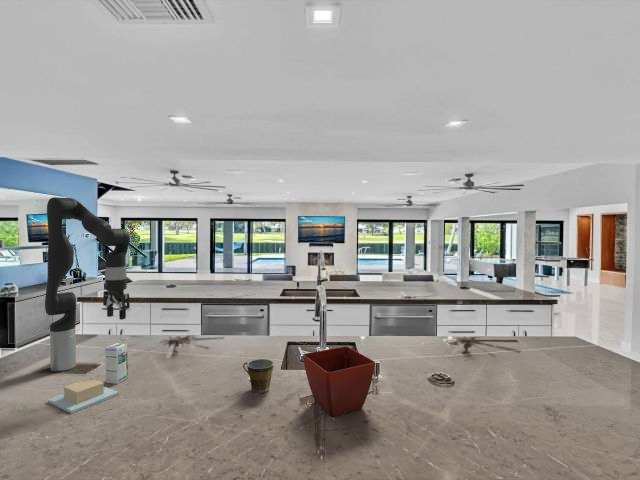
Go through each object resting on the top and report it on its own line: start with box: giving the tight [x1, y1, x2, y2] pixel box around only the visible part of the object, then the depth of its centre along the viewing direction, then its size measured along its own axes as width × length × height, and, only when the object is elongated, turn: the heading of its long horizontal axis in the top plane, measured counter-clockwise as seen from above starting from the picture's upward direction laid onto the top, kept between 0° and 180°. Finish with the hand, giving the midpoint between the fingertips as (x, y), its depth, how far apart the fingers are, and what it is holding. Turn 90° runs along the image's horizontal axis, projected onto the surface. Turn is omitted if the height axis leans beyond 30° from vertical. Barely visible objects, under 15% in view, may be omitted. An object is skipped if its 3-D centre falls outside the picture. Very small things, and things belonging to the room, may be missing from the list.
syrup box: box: [104, 342, 129, 385], centre depth 146 cm, size 6×6×14 cm
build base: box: [47, 377, 120, 414], centre depth 130 cm, size 16×16×5 cm
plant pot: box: [302, 346, 376, 417], centre depth 125 cm, size 19×19×17 cm
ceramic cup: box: [242, 358, 274, 394], centre depth 139 cm, size 13×10×10 cm
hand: (116, 317), depth 145 cm, fingers open, 8 cm apart
